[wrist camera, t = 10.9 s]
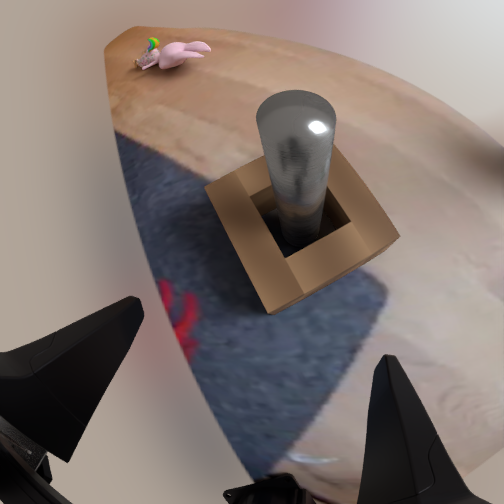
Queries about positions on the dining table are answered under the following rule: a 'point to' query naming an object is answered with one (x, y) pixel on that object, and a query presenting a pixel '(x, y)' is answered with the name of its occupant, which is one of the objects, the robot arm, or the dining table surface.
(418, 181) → the dining table surface
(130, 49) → the dining table surface
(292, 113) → the steel rod
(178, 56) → the rabbit figure
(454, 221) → the dining table surface
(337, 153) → the walnut square frame
